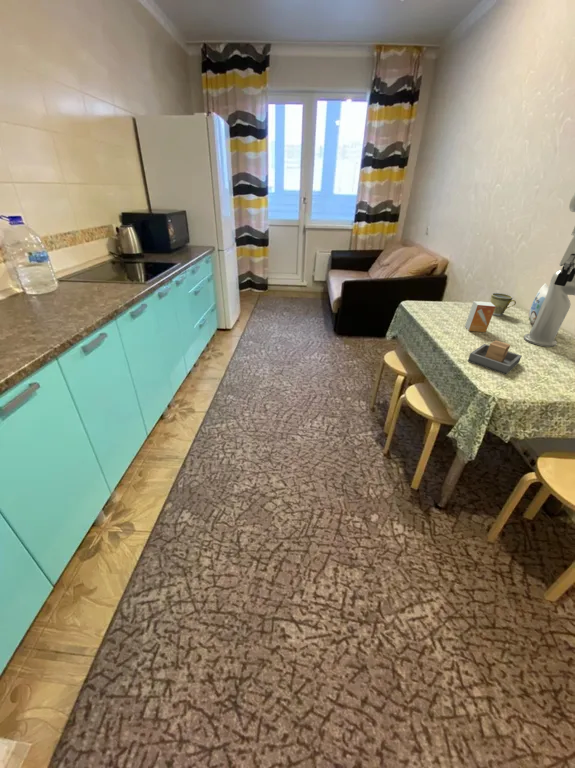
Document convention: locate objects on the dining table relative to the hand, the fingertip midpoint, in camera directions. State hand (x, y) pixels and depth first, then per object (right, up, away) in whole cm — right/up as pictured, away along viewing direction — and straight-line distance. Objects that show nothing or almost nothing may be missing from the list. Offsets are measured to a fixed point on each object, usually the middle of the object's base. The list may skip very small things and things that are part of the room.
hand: (562, 283), depth 118 cm
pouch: (+24, -8, +46) cm, 53 cm away
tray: (-18, -28, +11) cm, 35 cm away
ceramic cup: (+16, +2, +62) cm, 64 cm away
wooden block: (-18, -27, +11) cm, 34 cm away
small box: (-8, -10, +42) cm, 43 cm away
